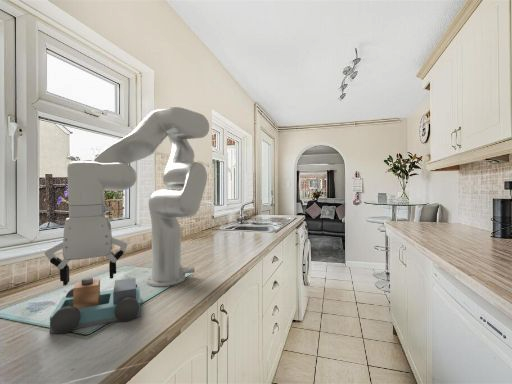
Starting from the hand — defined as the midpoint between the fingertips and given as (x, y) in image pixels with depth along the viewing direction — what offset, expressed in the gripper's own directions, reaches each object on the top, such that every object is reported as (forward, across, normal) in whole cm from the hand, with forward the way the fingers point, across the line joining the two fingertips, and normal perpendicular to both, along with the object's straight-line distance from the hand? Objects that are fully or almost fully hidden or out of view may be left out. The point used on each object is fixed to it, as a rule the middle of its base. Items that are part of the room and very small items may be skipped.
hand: (89, 280), depth 65 cm
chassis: (+9, -2, +1) cm, 9 cm away
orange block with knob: (+8, +1, +1) cm, 8 cm away
